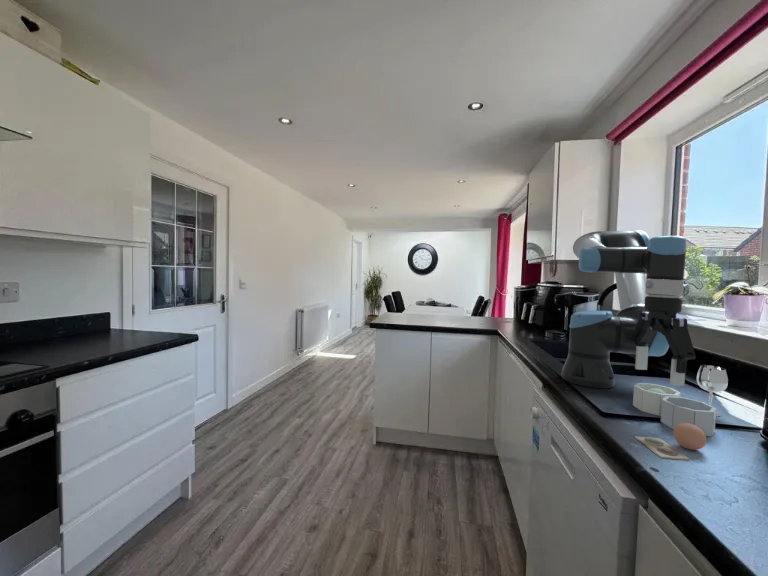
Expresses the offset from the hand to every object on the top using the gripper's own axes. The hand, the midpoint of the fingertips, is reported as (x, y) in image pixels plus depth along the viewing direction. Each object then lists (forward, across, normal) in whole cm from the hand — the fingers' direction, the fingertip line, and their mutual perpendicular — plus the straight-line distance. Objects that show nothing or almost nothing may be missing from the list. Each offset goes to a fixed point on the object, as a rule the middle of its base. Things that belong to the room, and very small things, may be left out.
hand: (657, 376), depth 89 cm
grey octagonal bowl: (+9, +10, 0) cm, 13 cm away
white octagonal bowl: (+9, 0, 0) cm, 9 cm away
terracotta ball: (+9, +21, -7) cm, 24 cm away
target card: (+9, +22, -13) cm, 27 cm away
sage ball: (+8, 0, 0) cm, 8 cm away
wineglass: (+9, 0, +13) cm, 16 cm away
